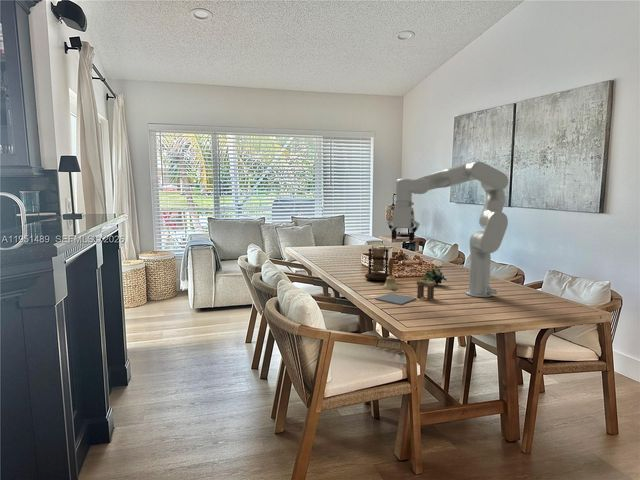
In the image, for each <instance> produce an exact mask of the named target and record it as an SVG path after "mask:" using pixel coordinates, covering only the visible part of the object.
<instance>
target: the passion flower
mask: <svg viewBox="0 0 640 480" xmlns="http://www.w3.org/2000/svg"><path fill="white" fill-rule="evenodd" d="M421 280H426V281H432V282H435V285H438V284H442V281H443V280H444V281H447V278H446V277H445V275H444V272H441V269H438V268H434V267H433V268H432V269H429V270H428V269H426V270H425V274H424V275H423V276H422V277H421Z"/></svg>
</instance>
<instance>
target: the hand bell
mask: <svg viewBox="0 0 640 480" xmlns="http://www.w3.org/2000/svg"><path fill="white" fill-rule="evenodd" d="M393 268H394V260H393V257H389V258H388V269H389V271H388V274H389V277H387V278H386V281H385V283H384V284H383V285H382V289H385V290H391V289H393V290H399V286H398V285H397V283H396V277H394V276H393Z"/></svg>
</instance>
